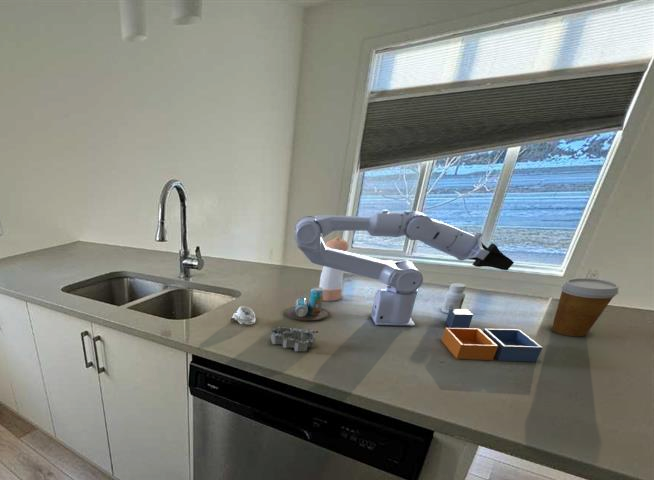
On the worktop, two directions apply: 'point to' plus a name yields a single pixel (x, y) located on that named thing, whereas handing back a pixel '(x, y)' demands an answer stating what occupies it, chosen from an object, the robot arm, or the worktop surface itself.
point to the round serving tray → (309, 307)
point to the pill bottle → (454, 297)
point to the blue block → (459, 318)
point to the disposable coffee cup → (582, 305)
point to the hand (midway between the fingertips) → (502, 263)
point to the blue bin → (513, 345)
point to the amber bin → (469, 343)
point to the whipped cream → (244, 315)
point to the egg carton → (294, 338)
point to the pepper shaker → (333, 273)
